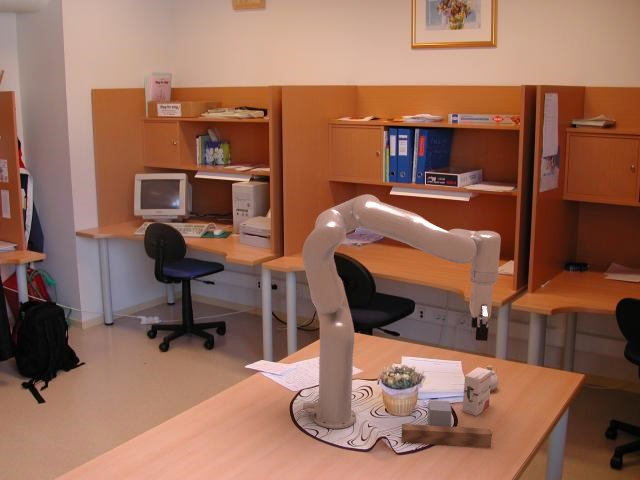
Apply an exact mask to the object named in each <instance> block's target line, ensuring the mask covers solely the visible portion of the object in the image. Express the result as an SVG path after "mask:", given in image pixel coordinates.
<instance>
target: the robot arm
mask: <svg viewBox="0 0 640 480" xmlns="http://www.w3.org/2000/svg"><path fill="white" fill-rule="evenodd" d="M359 228H361V229H363V230H364V231H367V232H371V233H374V234H377V235H380V236H383V237H385V238H389V239H392V240H394V241H398V242H401V243H404V244H406V245H409V246H410V247H412V248H415V249H417V250H419V251H421V252H422V251H423V252H424V253H427V254H430V255H432V256H433V257H437V258H438V259H442V260H446V261H448V262H452V263H455V264H459V265H460V264H463V265H465V264H469V263H470V266H469V267H470V270H469V281H470V282H471V288H470V299H469V310H470V311H469V312H470V315H471V328H474V329H475V337H474V338H475V341H482V342H483V341H485V342H487V341H488V339H489V338H488V337H489V319H490V318H491V317H492V316H491V315H492V306H493V305H492V304H493V293H494V292H493V291H494V290H493V289H494V285H495V284H497V283H498V279H499V277H498V276H499V266H500V265H499V264H500V254H501V242H502V241H501V240H502V237H501V235H500V233H498V232H496V231H494V230H468V229H464V228H453V229H449V230H445V229H444V228H441V227H439V226H436V225H435V224H433V223H431V222H429V220H427V219H425V218H424V217H422V216H421V215H419V214H417V213H415V212H413V211H409V210H406V209H402V208H400V207H396V206H395V205H391V204H388V203H385V202H382V201H380V200H379V198H378V197H376V196H375V195H373V194H370V193H369V194H366V193H365V194H362V195H358V196H356V197H354V198H351V199H349V200H347V201H345V202H342V203H340V204H338V205H336V206H333V207H330V208H328V209H325V210H324V211H323V212H321V213H320V214H319V215H318V216H317V218H316V220H315V222H314V229H313V230H311V231H310V234H309V235H307V237H306V239H305V241H304V243H303V247H302V253H301V254H302V263H303V267H304V270H305V275H306V280H307V284H308V287H309V292H310V298H311V302H312V304H313V305H314V307H315V309H316V314H317V317H318V318H317V319H318V321H319V355H318V357H319V361H318V365H319V366H318V371H319V372H318V399H317V402H316V401H315V402H313V403H312V402H303V403H302V409H303V410H305V411H306V412H305V413H312V420H313V421H314V423H316V424H317V425H318V426H320V427H322V428H326V429H335V430H339V429H345V428H348V427H351V426H352V425H354V424H355V423H356V422H357V414H356V412H355V411H354V410H353V409H352V395H353V393H352V392H353V364H354V363H353V361H354V348H355V347H354V346H355V328H354V327H355V326H354V322H353V317H352V313H351V309H350V306H349V302H348V297H347V294H346V290H345V286H344V283H343V280H342V278H341V277H340V276H339V274H338V270H337V266H336V262H335V258H334V256H335V251H336V250H337V249H338V248H339V246H341V245H342V244H343V243H344V242H345V239H346V236H347V234H348V233H351V232H352V231H355V230H356V229H359Z"/></svg>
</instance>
